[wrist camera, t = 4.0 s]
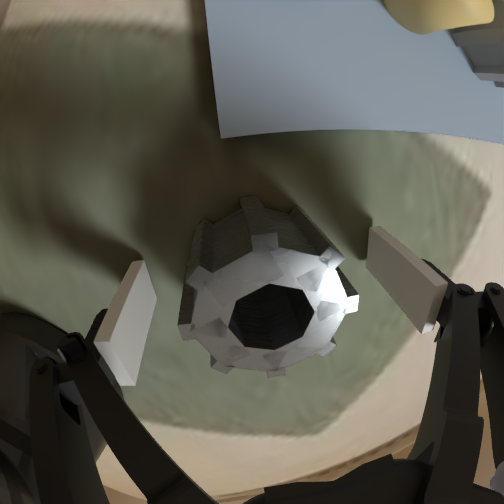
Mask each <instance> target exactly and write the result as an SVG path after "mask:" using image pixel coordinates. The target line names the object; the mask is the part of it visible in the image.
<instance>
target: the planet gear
mask: <svg viewBox="0 0 504 504" xmlns="http://www.w3.org/2000/svg"><path fill="white" fill-rule="evenodd" d="M240 203H241V208H240V209H239V210H237V211H235V212H233V213H232V214H230V215H228V216H226V217H225V218H223V219H221V220H219V221H218V222H216V223H214V224H212V223H211V222H209V221H208V220H206V219H205V218H204V219H203V220H202V221H201V223H200V224H199V225H198V227H197V228H196V230H195V231H194V235H193V240H192V246H191V252H190V257H189V263H188V266H187V268H186V274H185V280H184V286H183V292H182V298H181V305H180V311H179V318H178V328H179V331H180V333H181V336H182V339H183V341H185V340H194V339H196V340H197V341H198V342H199V343H200V344H201V345H202V346H203V347H204V348H205V349H206V350H207V351H208V352H209V353H210V354H211V368H213V369H215V370H218V371H220V372H223V373H225V374H227V373H228V372H229V371H230V370H232V369H233V368H239V369H249V370H260V371H266V372H267V376H268V378H270V377H276V376H281V375H285V368H286V367H288V366H290V365H292V364H295V363H297V362H299V361H301V360H303V359H305V358H307V357H309V356H311V355H313V354H315V353H317V354H319V355H321V356H323V357H324V356H325V355H326V354H327V353H329V352H330V351H331V350H332V349H333V348H334V347H335V346H337V344H336V342H335V340H334V338H333V335H334V333H335V331H336V330H337V328H338V326H339V324H340V322H341V321H342V319H343V317H344V315H345V314H346V313H351V312H355V311H357V306H358V299H359V294H358V293H357V291H356V290H355V289H354V287H353V286H352V285H351V283H350V282H349V281H348V279H347V278H346V277H345V275H344V274H343V273H342V271H341V270H340V269H339V267H338V265H339V264H340V263H341V262H342V261H343V260H344V258H345V257H344V256H343V255H342V254H341V252H340V251H339V250H338V249H337V248H336V247H335V245H334V244H333V243H332V242H331V241H330V240H329V239H328V237H327V236H326V235H325V234H324V233H323V232H322V231H321V229H320V228H319V227H318V226H317V225H316V224H315V223H314V222H313V221H312V219H311V218H310V217H309V216H308V215H307V214H306V213H304V212H303V211H302V210H301V209H300V208H298V207H297V206H295V207H294V208H293V209H292V210H291V211H290V213H285V212H281V211H277V210H273V209H270V208H266V207H264V206H263V204H262V203H261V201H260V199H259V197H258V195H254V196H247V197H240ZM267 284H270V285H268V286H266V287H264V288H262V289H260V290H258V289H259V288H261V287H263V286H265V285H267Z"/></svg>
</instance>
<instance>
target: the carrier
mask: <svg viewBox="0 0 504 504" xmlns="http://www.w3.org/2000/svg"><path fill="white" fill-rule="evenodd" d="M205 9H206V19H207V28H208V37H209V46H210V55H211V63H212V72H213V80H214V89H215V97H216V105H217V113H218V121H219V129H220V136H221V139H222V138H230V137H238V136H246V135H255V134H265V133H276V132H290V131H307V130H339V129H363V130H394V131H410V132H423V133H433V134H442V135H451V136H458V137H465V138H472V139H478V140H484V141H489V142H494V143H499V144H504V0H205Z"/></svg>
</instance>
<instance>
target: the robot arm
mask: <svg viewBox="0 0 504 504" xmlns="http://www.w3.org/2000/svg"><path fill="white" fill-rule="evenodd" d="M366 268H367V269H368V270H369V271H370V272H371V274H372V275H373V276H374V277H375V278H376V279H377V280H378V282H379V283H380V284H381V285H382V286H383V287H384V289H385V290H386V291H387V292H388V293H389V295H390V296H391V297H392V298H393V299H394V301H395V302H396V303H397V304H398V305H399V307H400V308H401V309H402V310H403V312H404V313H405V314H406V315H407V317H408V318H409V319H410V320H411V322H412V323H413V324H414V325H415V327H416V328H417V329H418V330H419V332H420V333H421V334H424V333H426V332H429V331H432V330H433V329H434V326H435V323H436V320H437V321H438V322H439V324H440V328H439V330H438V333H437V335H436V338H435V340H434V342H436V341H437V346H436V353H435V360H434V366H433V372H432V377H431V383H430V388H429V392H428V397H427V401H426V405H425V409H424V413H423V417H422V421H421V425H420V428H419V431H418V435H417V438H416V441H415V444H414V447H413V449H412V451H411V452H410V454H409V456H408V458H407V459H393V457H392V455H391V454H389V455H386V456H384V457H381V458H378V459H376V460H373V461H370V462H368V463H365V464H362V465H361V466H359V467H357V468H356V469H354V470H352V471H351V472H349V473H347V474H345V475H344V476H342V477H340V478H338V479H336V480H334V481H327V482H295V483H289V484H284V485H278V486H271V487H264V491H265V493H263V494H260V495H257V496H255V497H253V498H251V499H249V500H248V501H246V502H244V503H243V504H504V288H503V287H502V286H500V285H499V284H497V283H492V282H491V283H487V284H486V286H485V289H484V291H483V292H475V291H474V289H473V288H472V287H470V286H468V285H466V284H455V283H454V282H452V281H451V280H450V279H449V278H448V277H447V276H446V275H445V274H443V273H441V271H440V270H439V269H437V268H436V267H435V266H434V265H433V264H432V263H431V262H428V261H426V260H424V259H420V258H419V257H418V256H417V255H416V254H414V253H413V252H412V251H411V250H410V249H408V248H407V247H406V246H405V245H403V244H402V243H401V242H400V241H399V240H397V239H396V238H395V237H393V236H392V235H391V234H390V233H388V232H387V231H386V230H385V229H383V228H382V227H381V226H376V227H369V239H368V251H367V262H366ZM156 301H157V298H156V295H155V292H154V289H153V286H152V283H151V280H150V277H149V274H148V270H147V267H146V264H145V261H144V260H139V261H133V262H132V263H131V265H130V267H129V269H128V270H127V272H126V274H125V276H124V278H123V280H122V282H121V284H120V286H119V288H118V290H117V292H116V294H115V296H114V298H113V300H112V302H111V304H110V306H109V308H108V309H102V310H101V311H100V312H99V313H98V314H97V315H96V317H95V319H94V321H93V324H92V325H91V328H90V330H89V332H88V334H87V336H86V338H85V339H84V338H83V336H82V335H81V334H80V333H77V332H73V333H69V334H67V335H66V334H65V333H63V332H61V331H60V330H58V329H56V328H55V327H53V326H51V325H49V324H47V323H45V322H43V321H41V320H38V319H36V318H33V317H30V316H27V315H24V314H19V313H4V314H1V315H0V504H110V503H109V501H108V498H107V496H106V493H105V490H104V488H103V485H102V482H101V479H100V476H99V473H98V470H97V467H96V461H97V460H98V458H99V456H100V455H101V453H102V452H103V450H104V448H105V447H106V445H107V444H108V445H109V447H110V449H111V450H112V452H113V453H114V455H115V456H116V458H117V459H118V461H119V462H120V464H121V465H122V466H123V468H124V469H125V471H126V472H127V473H128V475H129V476H130V477H131V479H132V480H133V481H134V483H135V484H136V485H137V487H138V488H139V489H140V490H141V492H142V493H143V494H144V495H145V497H146V498H147V503H148V504H219V503H218V502H217V501H215V500H214V499H213V498H212V497H211V496H209V495H208V494H207V493H206V492H205V491H204V490H203V489H202V488H201V487H199V486H198V485H197V484H196V483H195V482H194V481H193V480H192V479H191V478H190V477H189V476H188V475H187V474H186V473H185V472H184V471H183V470H182V469H181V468H180V467H179V466H178V465H177V464H176V463H175V462H174V461H173V460H172V458H171V457H170V456H169V455H168V454H167V453H166V452H165V451H164V450H163V449H162V447H161V446H160V445H159V444H158V443H157V442H156V441H155V439H154V438H153V437H152V436H151V435H150V433H149V432H148V431H147V430H146V428H145V427H144V426H143V425H142V423H141V422H140V421H139V420H138V418H137V417H136V416H135V414H134V413H133V412H132V410H131V409H130V408H129V406H128V405H127V404H126V402H125V401H124V397H123V393H122V391H121V388H120V386H136V381H137V377H138V372H139V368H140V363H141V359H142V355H143V351H144V347H145V342H146V339H147V335H148V331H149V327H150V323H151V319H152V316H153V312H154V308H155V305H156ZM480 369H481V374H482V378H483V383H484V388H485V393H486V399H487V405H488V411H489V419H490V428H491V438H492V450H493V458H494V463H495V468H496V472H495V476H493V477H492V479H491V480H490V487H491V488H492V489H494V490H491V489H488V488H485V487H482V486H479V485H477V484H474V483H473V481H474V477H475V472H476V468H477V463H478V458H479V453H480V447H481V441H482V434H483V427H484V420H483V418H482V417H478V403H479V390H480ZM115 378H116V379H115ZM116 380H117V381H118V383H119V384H120V386H119V384H118V383H117V381H116Z"/></svg>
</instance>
